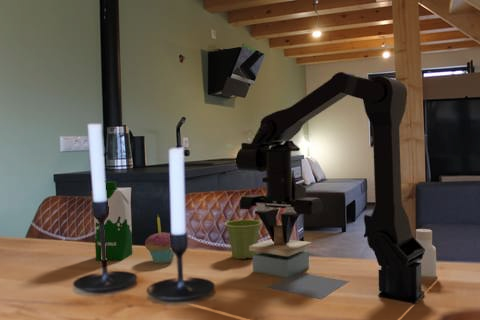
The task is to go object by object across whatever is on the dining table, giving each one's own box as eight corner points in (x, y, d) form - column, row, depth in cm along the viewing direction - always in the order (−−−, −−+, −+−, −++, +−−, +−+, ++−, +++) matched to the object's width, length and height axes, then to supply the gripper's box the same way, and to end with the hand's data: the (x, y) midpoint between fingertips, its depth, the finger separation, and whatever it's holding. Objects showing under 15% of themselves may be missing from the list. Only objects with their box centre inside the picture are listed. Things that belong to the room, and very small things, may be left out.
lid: (311, 246, 98) (310, 224, 98) (288, 256, 90) (287, 232, 90) (274, 241, 104) (273, 220, 104) (249, 250, 96) (248, 228, 96)
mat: (348, 283, 88) (348, 281, 88) (321, 301, 78) (321, 299, 78) (296, 273, 95) (296, 272, 95) (265, 289, 86) (265, 287, 86)
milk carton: (91, 261, 111) (87, 183, 111) (106, 252, 120) (103, 180, 120) (123, 261, 110) (120, 182, 109) (137, 252, 119) (134, 179, 118)
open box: (309, 269, 98) (308, 251, 98) (288, 279, 91) (287, 260, 91) (275, 263, 104) (274, 246, 104) (253, 273, 97) (252, 255, 97)
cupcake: (173, 265, 105) (171, 216, 104) (139, 265, 106) (138, 216, 106) (183, 256, 113) (182, 210, 113) (152, 256, 115) (150, 210, 114)
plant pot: (218, 259, 110) (217, 224, 109) (236, 250, 118) (235, 218, 118) (252, 263, 105) (251, 227, 105) (268, 253, 114) (267, 220, 113)
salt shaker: (437, 278, 89) (436, 232, 89) (416, 278, 90) (415, 232, 89) (432, 273, 93) (431, 228, 93) (412, 272, 94) (411, 228, 93)
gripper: (333, 170, 97) (335, 240, 98) (264, 169, 109) (266, 232, 109) (309, 173, 89) (311, 250, 89) (236, 172, 100) (239, 240, 101)
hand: (280, 242), depth 97 cm, fingers closed on lid, 3 cm apart
